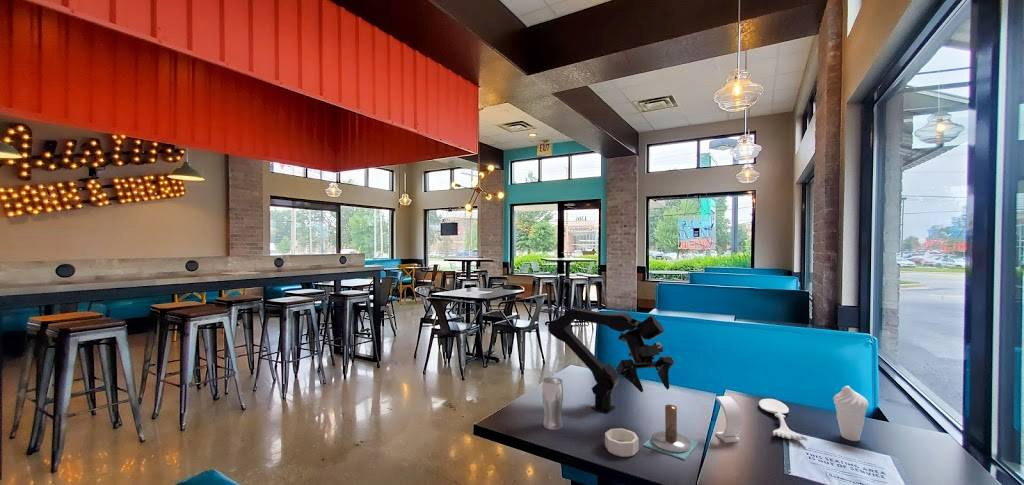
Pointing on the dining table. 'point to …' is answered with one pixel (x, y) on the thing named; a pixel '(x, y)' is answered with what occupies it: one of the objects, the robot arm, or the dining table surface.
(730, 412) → the headphone stand
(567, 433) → the dining table surface
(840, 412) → the soft serve ice cream cone
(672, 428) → the lid with wooden handle
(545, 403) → the beer glass
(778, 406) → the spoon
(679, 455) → the teal rubber mat
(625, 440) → the cream ceramic bowl
